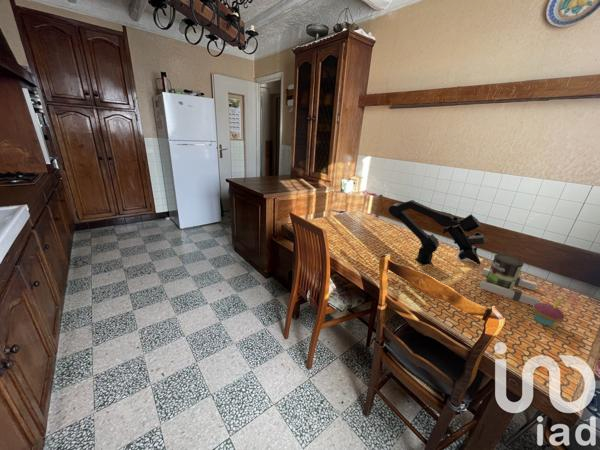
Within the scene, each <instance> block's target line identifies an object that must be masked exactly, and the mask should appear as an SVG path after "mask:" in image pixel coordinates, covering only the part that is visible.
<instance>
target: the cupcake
mask: <svg viewBox="0 0 600 450" xmlns="http://www.w3.org/2000/svg"><path fill="white" fill-rule="evenodd" d="M563 300H564V296H563V297H559V299H558V301H557V302H556V303H555V305H552V304H550V303H546V302H545V303H544V302H540V303H536V304H535V305H534V306H532V307H531V310H532V312H534V318H535V321H536V320H537V321H536V322H537V323H539V322H540V323H539V324H541V323H542V324H541V325H543V324H544V325H543V326H546V325H548V326H547V327H551V326H553V325H555V324H556V323H558V322H563V321H564V319H565V314H564V312H563V311H562V310H560V308H558V306H559V305H560V304H561V302H562V301H563Z"/></svg>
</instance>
